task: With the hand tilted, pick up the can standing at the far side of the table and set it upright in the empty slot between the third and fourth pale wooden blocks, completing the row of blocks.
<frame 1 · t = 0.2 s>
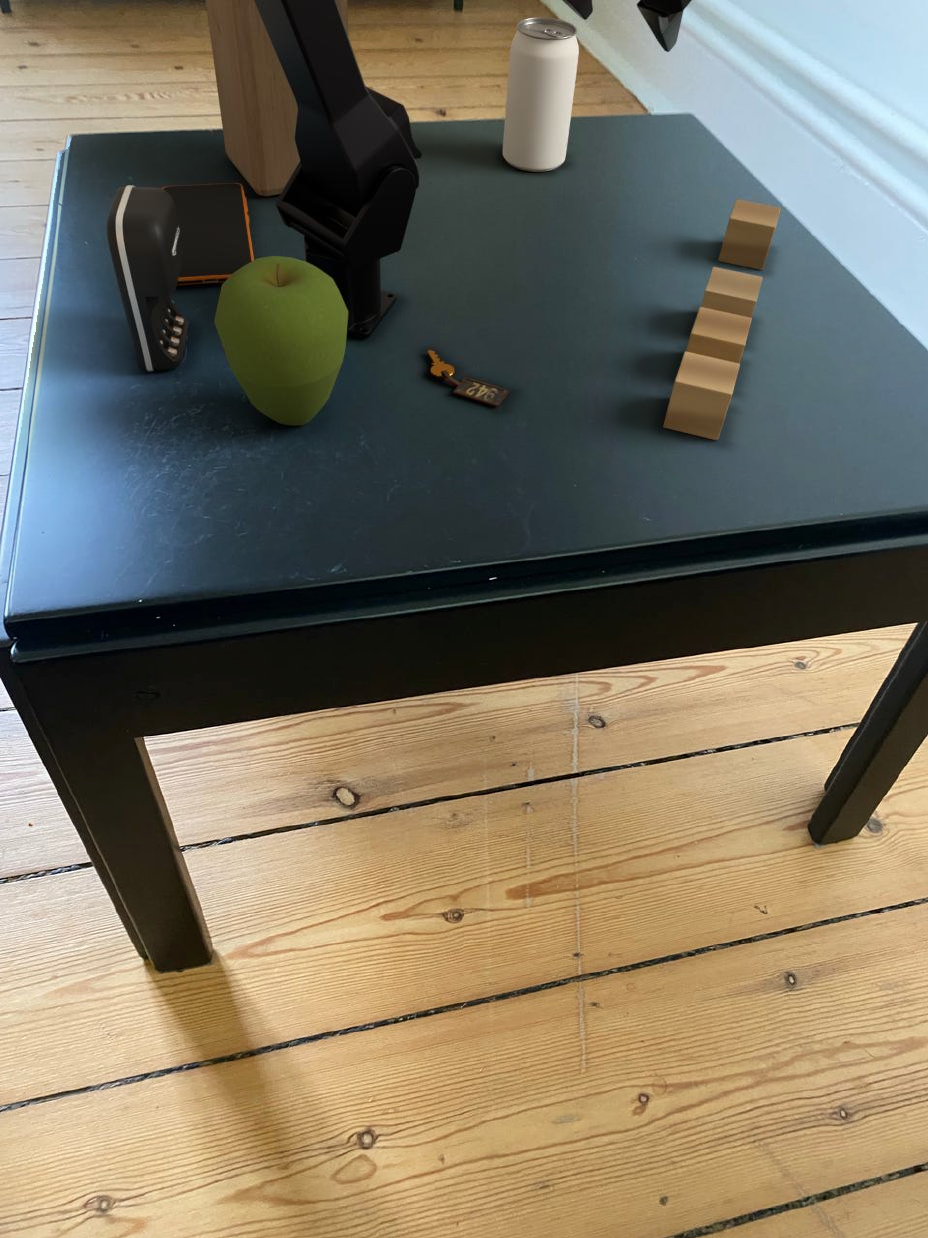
hand: (628, 30, 80), 15 cm above the table, tool tilted 35°, fingers open, 9 cm apart
apple: (292, 418, 68), on the table
wooden block: (290, 173, 93), on the table
key tag: (466, 380, 71), on the table
block 3: (721, 328, 78), on the table
block 2: (708, 370, 74), on the table
smartphone: (207, 237, 83), on the table
battery charger: (171, 350, 72), on the table
block 4: (743, 255, 86), on the table
can: (533, 161, 97), on the table
block 1: (694, 418, 70), on the table
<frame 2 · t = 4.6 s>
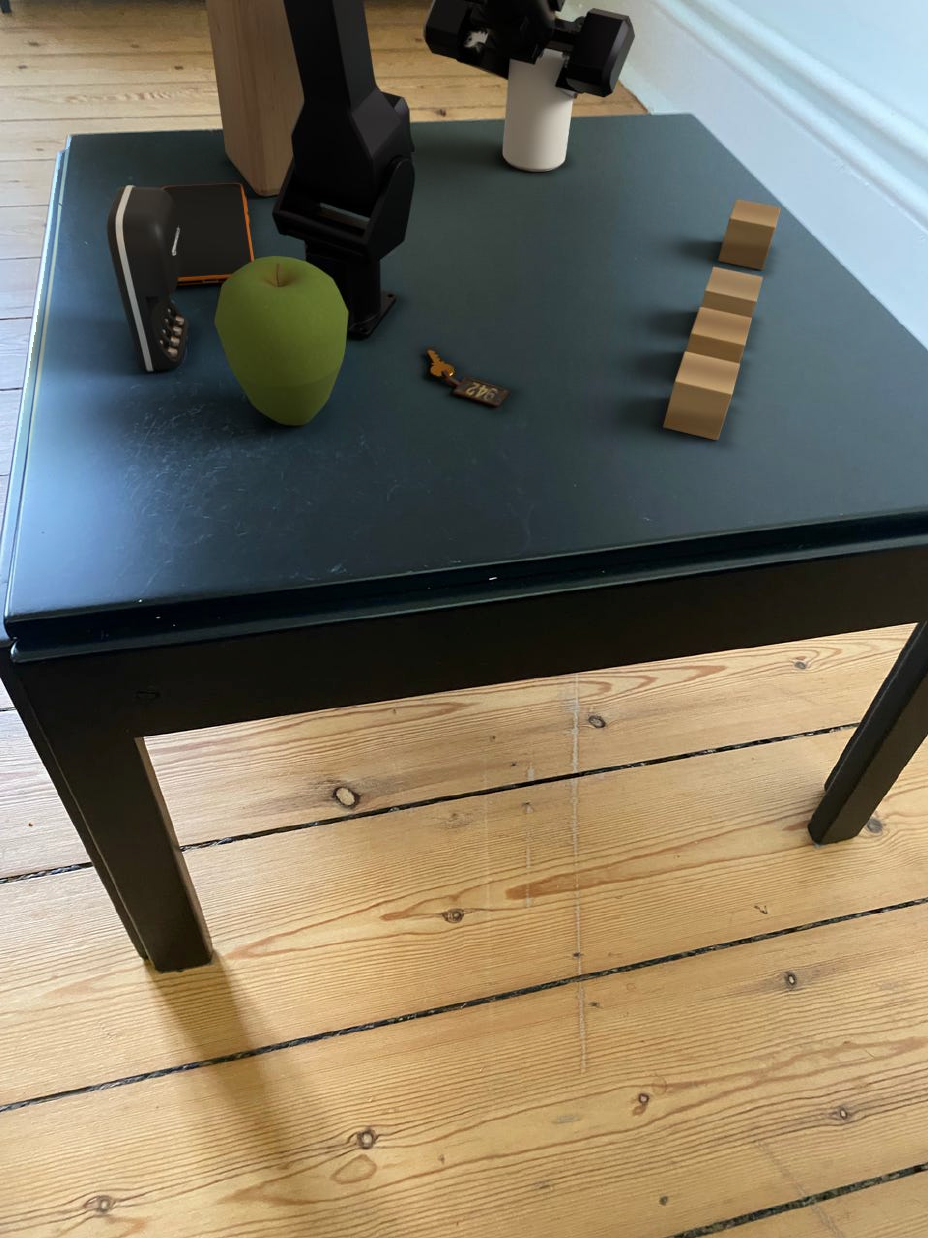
hand: (546, 85, 93), 7 cm above the table, tool tilted 45°, fingers closed on can, 6 cm apart
can: (533, 161, 97), on the table, touching gripper
everything else where it was.
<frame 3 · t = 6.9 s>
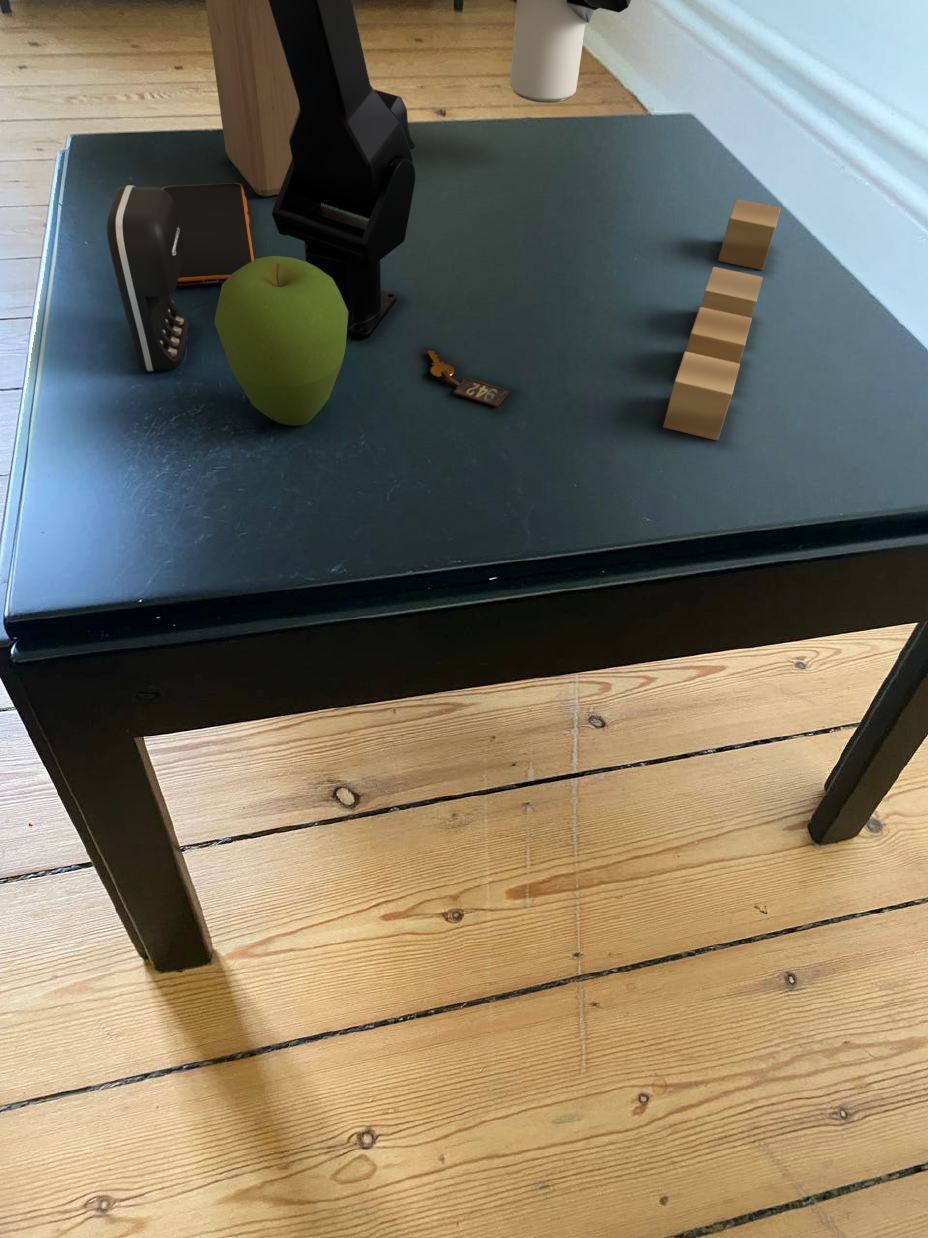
hand: (557, 9, 88), 13 cm above the table, tool tilted 45°, fingers closed on can, 6 cm apart
can: (542, 93, 92), point 6 cm above the table, touching gripper
everything else where it was.
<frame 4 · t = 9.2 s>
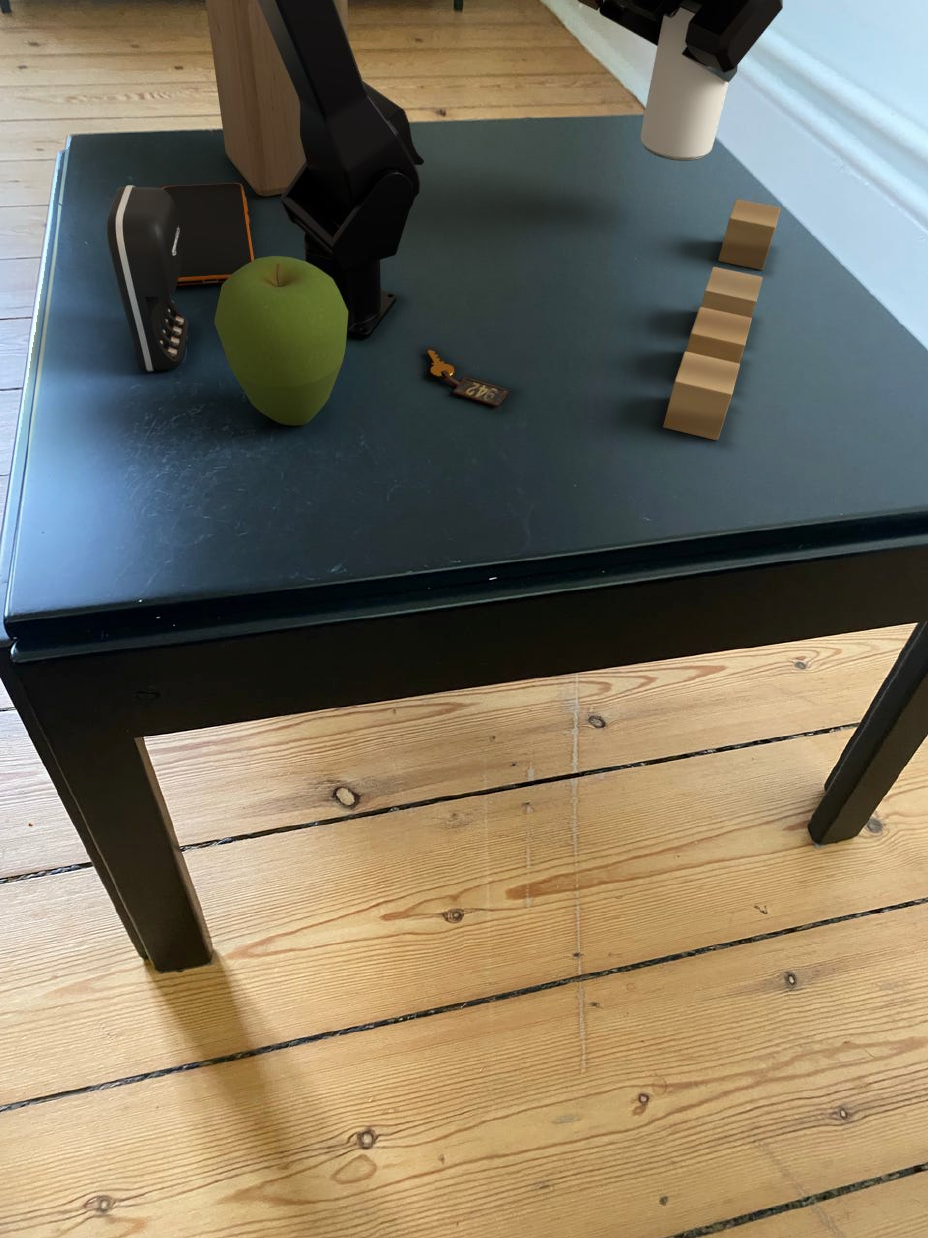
hand: (704, 63, 81), 13 cm above the table, tool tilted 45°, fingers closed on can, 6 cm apart
can: (674, 148, 85), point 6 cm above the table, touching gripper
everything else where it was.
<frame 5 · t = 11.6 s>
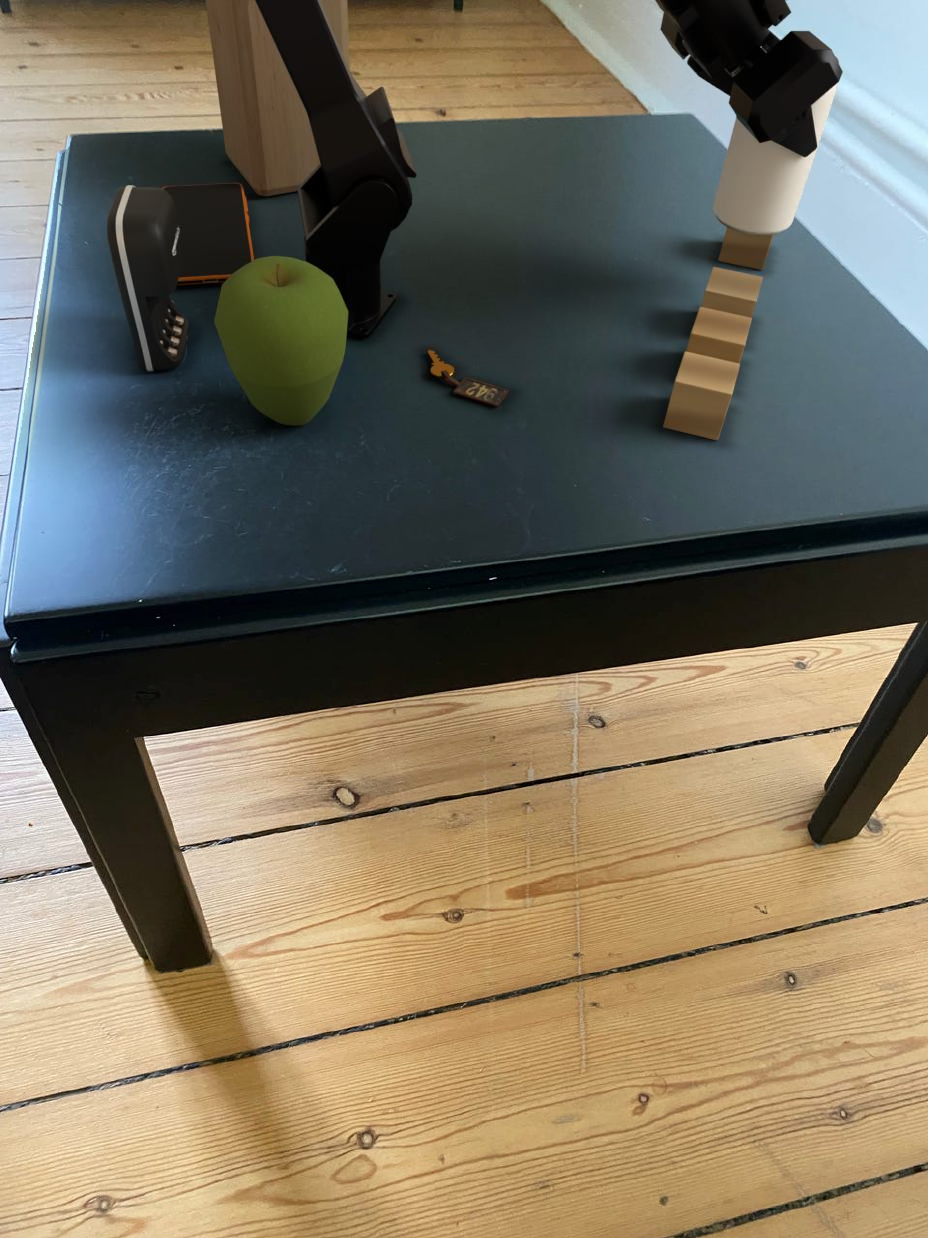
hand: (792, 133, 73), 13 cm above the table, tool tilted 45°, fingers closed on can, 6 cm apart
can: (750, 220, 77), point 6 cm above the table, touching gripper
everything else where it was.
when the fingers open (7 cm above the table, at t = 13.8 s): can stays where it is, on the table.
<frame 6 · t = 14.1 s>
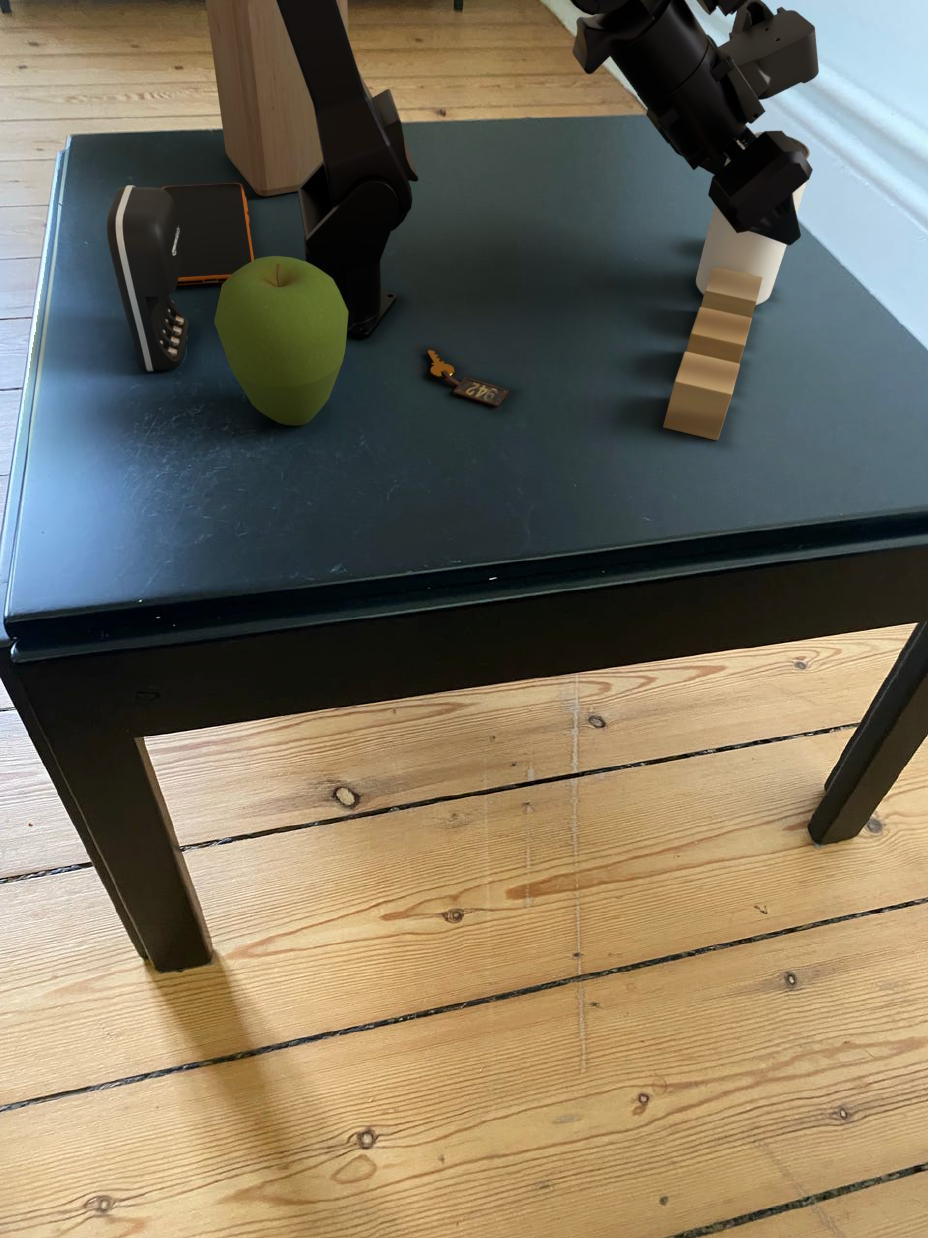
hand: (771, 212, 77), 7 cm above the table, tool tilted 45°, fingers open, 9 cm apart
can: (731, 292, 82), on the table
everything else where it was.
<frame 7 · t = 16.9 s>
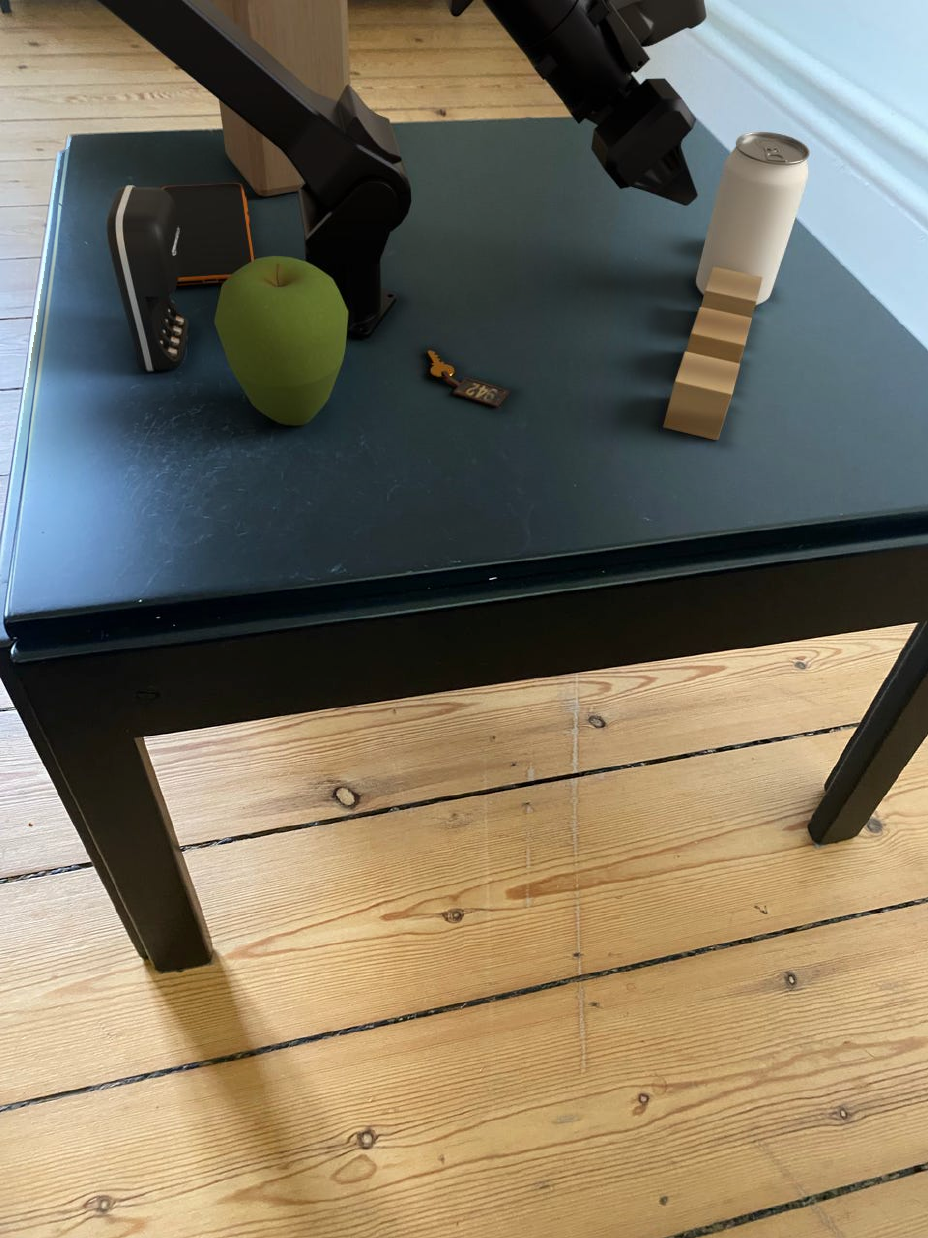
hand: (671, 172, 73), 10 cm above the table, tool tilted 45°, fingers open, 9 cm apart
nothing on the table moved.
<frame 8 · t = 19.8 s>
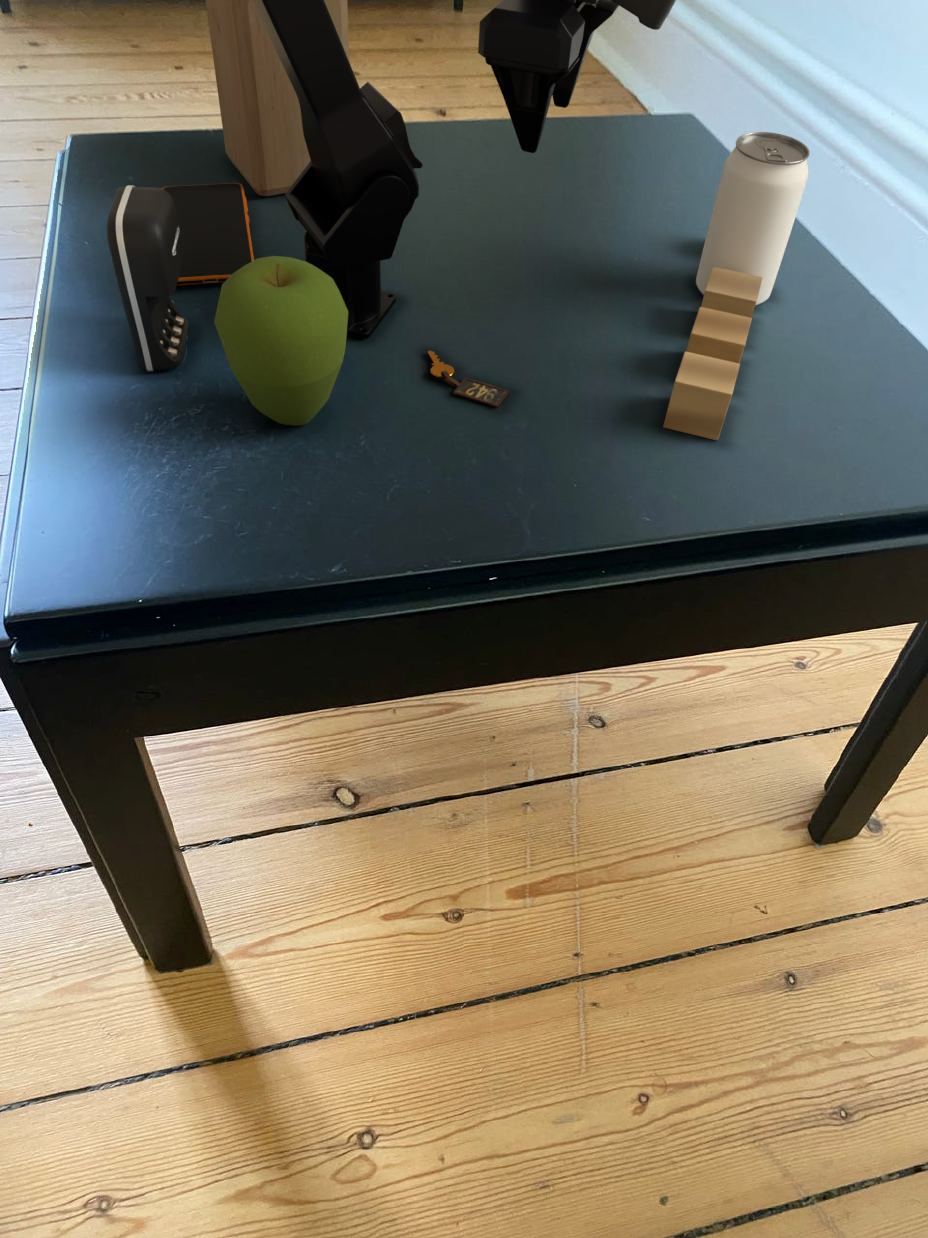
hand: (545, 127, 73), 12 cm above the table, tool pointing down, fingers open, 9 cm apart
nothing on the table moved.
at the end: can 0.1 cm from the target spot on the table beside the block 1, on the table; can tilted 0°; block 4 moved 0.0 cm from its start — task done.
